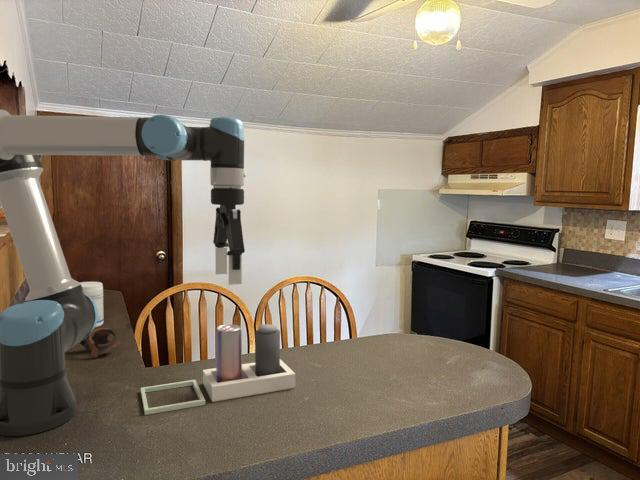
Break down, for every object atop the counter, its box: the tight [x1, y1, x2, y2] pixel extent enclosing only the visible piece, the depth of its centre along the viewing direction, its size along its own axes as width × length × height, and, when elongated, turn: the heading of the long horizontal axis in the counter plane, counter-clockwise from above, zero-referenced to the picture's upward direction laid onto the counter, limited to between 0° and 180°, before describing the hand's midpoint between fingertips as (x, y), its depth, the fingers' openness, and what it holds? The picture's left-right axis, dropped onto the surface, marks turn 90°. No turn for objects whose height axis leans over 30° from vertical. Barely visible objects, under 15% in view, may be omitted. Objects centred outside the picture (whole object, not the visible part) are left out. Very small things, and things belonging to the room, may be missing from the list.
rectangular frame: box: [140, 379, 206, 416], centre depth 108 cm, size 13×13×1 cm
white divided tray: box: [202, 358, 296, 403], centre depth 115 cm, size 20×11×4 cm, turn 114°
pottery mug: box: [79, 327, 120, 359], centre depth 136 cm, size 12×10×8 cm
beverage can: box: [215, 324, 243, 383], centre depth 112 cm, size 6×6×15 cm
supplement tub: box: [80, 281, 105, 328], centre depth 163 cm, size 10×10×15 cm
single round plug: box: [254, 323, 281, 377], centre depth 116 cm, size 6×6×14 cm
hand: (227, 278), depth 110 cm, fingers open, 13 cm apart
